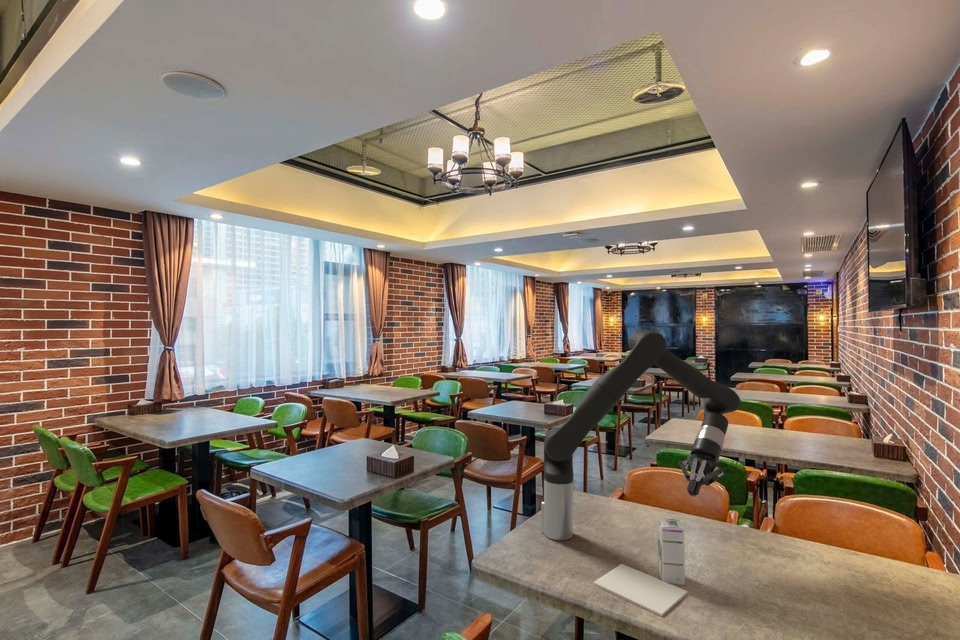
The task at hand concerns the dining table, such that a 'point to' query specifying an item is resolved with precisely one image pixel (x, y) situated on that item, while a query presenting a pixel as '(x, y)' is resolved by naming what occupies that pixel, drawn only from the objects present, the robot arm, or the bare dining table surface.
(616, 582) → the placemat
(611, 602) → the dining table surface
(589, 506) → the dining table surface
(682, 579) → the syrup box
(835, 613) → the dining table surface
